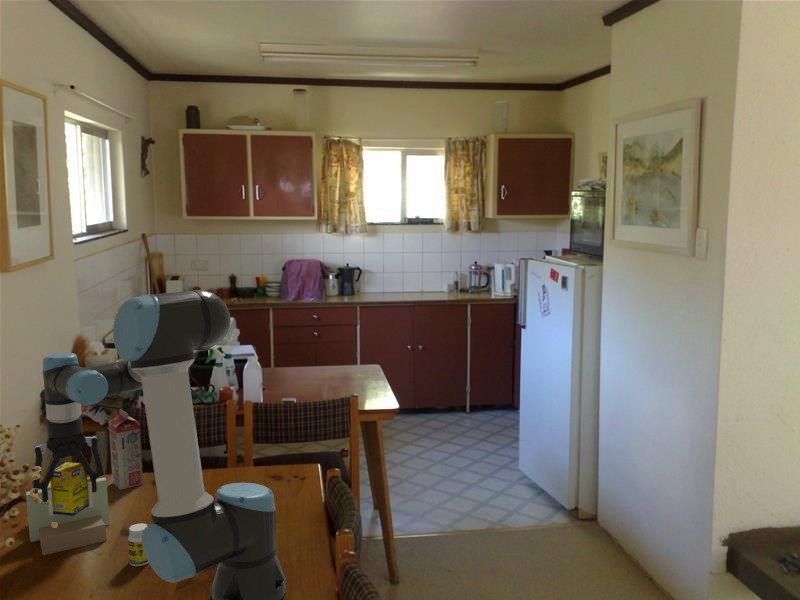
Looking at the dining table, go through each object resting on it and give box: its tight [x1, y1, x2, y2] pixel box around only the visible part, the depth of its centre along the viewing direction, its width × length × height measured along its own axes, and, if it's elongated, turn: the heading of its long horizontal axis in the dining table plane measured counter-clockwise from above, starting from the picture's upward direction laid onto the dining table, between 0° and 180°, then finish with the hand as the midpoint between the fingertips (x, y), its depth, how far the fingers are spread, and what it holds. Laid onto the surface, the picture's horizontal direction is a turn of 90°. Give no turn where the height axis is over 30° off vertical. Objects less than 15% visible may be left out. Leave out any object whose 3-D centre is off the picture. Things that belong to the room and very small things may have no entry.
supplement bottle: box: [127, 523, 149, 567], centre depth 161 cm, size 5×5×8 cm
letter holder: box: [25, 476, 111, 556], centre depth 172 cm, size 11×18×12 cm, turn 121°
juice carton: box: [108, 408, 144, 491], centre depth 205 cm, size 7×7×22 cm
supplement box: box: [50, 461, 89, 516], centre depth 169 cm, size 6×6×11 cm
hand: (71, 509), depth 170 cm, fingers closed on supplement box, 8 cm apart
